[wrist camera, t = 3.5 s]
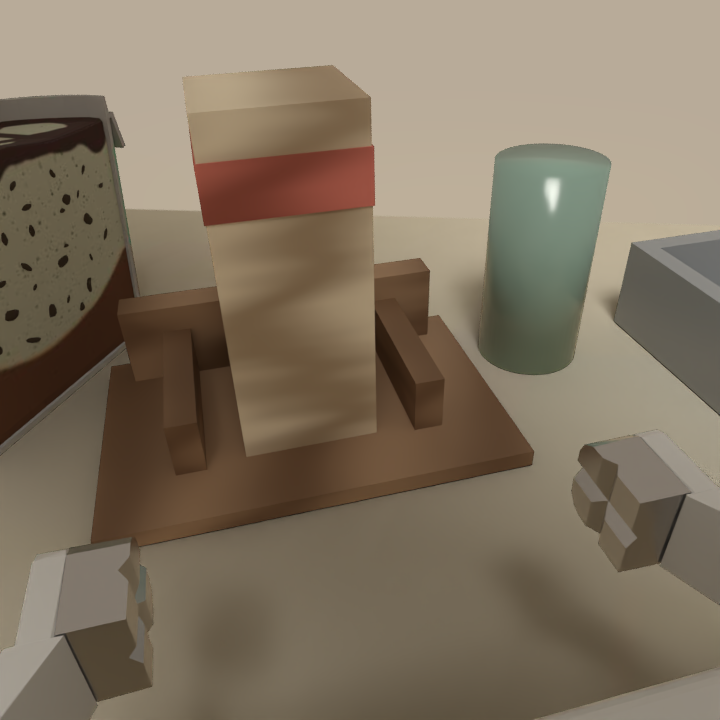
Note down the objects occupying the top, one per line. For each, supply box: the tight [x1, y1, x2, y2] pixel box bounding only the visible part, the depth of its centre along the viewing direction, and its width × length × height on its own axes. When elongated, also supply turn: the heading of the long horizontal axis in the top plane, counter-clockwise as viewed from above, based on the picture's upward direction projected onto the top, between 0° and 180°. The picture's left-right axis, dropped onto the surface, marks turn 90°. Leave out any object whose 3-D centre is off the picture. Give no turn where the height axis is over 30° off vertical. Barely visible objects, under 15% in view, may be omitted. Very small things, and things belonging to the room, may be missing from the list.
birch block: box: [182, 65, 377, 457], centre depth 21 cm, size 5×5×11 cm
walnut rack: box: [91, 258, 534, 546], centre depth 23 cm, size 14×9×4 cm, turn 104°
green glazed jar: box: [478, 144, 611, 375], centre depth 25 cm, size 4×4×8 cm
